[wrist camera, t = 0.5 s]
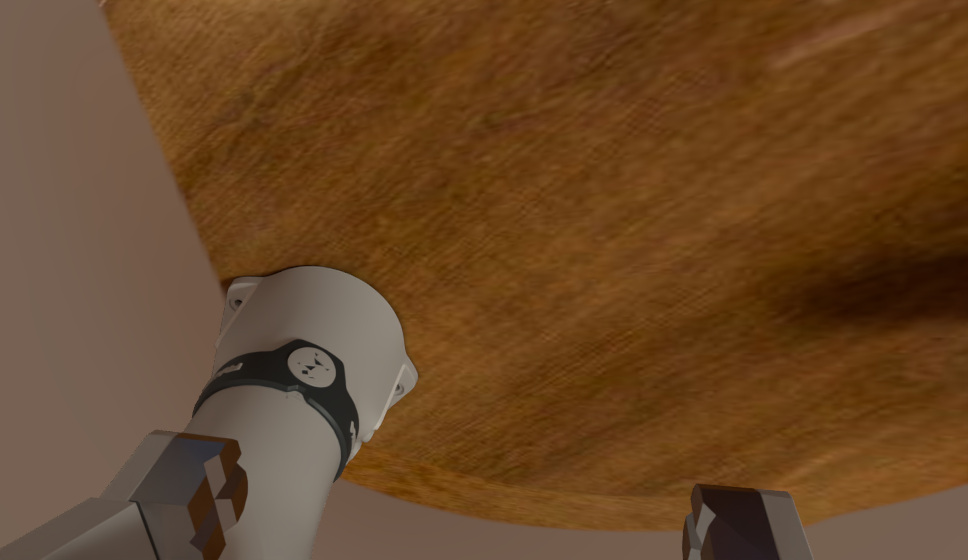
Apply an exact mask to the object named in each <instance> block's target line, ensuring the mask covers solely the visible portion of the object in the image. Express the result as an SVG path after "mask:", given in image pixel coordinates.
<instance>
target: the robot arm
mask: <svg viewBox="0 0 968 560" xmlns="http://www.w3.org/2000/svg"><path fill="white" fill-rule="evenodd" d="M238 300H241V301H242V303H241V302H239V301H238ZM214 346H215V348H216V349H217V351H216V355H215V360H214V366H213V372H212V378H211V379H210V381H209V382H208V383H207V384H206V386H205V388H204V389H203V390H202V393H201V395H200V396H199V399H198V401H197V403H196V405H195V407H194V410H193V415H192V420H191V421H190V423H189V424H188V425H187V427H186V428H185V430H184V431H183V432H182V433H179V432H170V431H162V430H155V431H153V432H151V433H149V434H148V435H147V436H146V437H145V438H144V440H143V441H142V442H141V444H140V445H139V446H138V447H137V449H136V450H135V452H134V453H133V454H132V455H131V457H130V458H129V459H128V460H127V462H126V463H125V465H124V466H123V467H122V468H121V470H120V471H119V472H118V474H117V475H116V476H115V478H114V479H113V480H112V481H111V483H110V484H109V485H108V487H107V488H106V489H105V491H104V492H103V493H102V494H101V496H100V497H99V498H89V499H87V500H86V501H84V502H82V503H80V504H78V505H77V506H75V507H73V508H71V509H70V510H68V511H66V512H64V513H63V514H61V515H59V516H57V517H56V518H54V519H52V520H50V521H48V522H47V523H45V524H43V525H42V526H40V527H38V528H36V529H34V530H33V531H31V532H29V533H27V534H26V535H24V536H22V537H20V538H19V539H17V540H15V541H13V542H12V543H10V544H8V545H6V546H4V547H3V548H1V549H0V560H311V559H312V551H313V546H314V541H315V537H316V534H317V530H318V526H319V522H320V519H321V516H322V512H323V509H324V506H325V503H326V500H327V497H328V494H329V492H330V489H331V486H332V483H334V482H335V481H336V480H337V479H338V478H339V477H340V475H341V474H342V472H343V470H344V468H345V465H347V463H348V461H350V460H351V459H352V458H353V457H354V456H355V455H356V453H357V452H358V450H359V448H360V446H361V444H362V441H363V442H368V441H369V440H370V438H371V437H372V435H373V433H374V430H377V429H378V428H379V426H380V425H381V423H382V421H383V418H384V416H385V413H386V411H387V410H388V409H389V408H390V407H391V406H393V405H394V404H395V403H396V402H397V401H398V400H400V399H401V398H402V397H403V396H404V395H406V394H407V393H408V392H409V391H410V390H412V389H413V387H414V386H415V384H416V382H417V380H418V374H417V371H416V369H415V367H414V365H413V364H412V362H411V361H410V359H409V358H408V356H407V355H406V351H405V347H404V338H403V332H402V328H401V325H400V323H399V320H398V318H397V316H396V314H395V313H394V311H393V309H392V308H391V306H390V305H389V304H388V303H387V301H386V300H385V299H384V298H383V297H382V296H381V295H380V294H379V293H378V292H377V291H376V290H374V289H373V288H372V287H371V286H369V285H368V284H366V283H365V282H363V281H361V280H360V279H358V278H356V277H354V276H352V275H350V274H347V273H345V272H342V271H339V270H335V269H331V268H326V267H318V266H304V267H296V268H291V269H287V270H284V271H282V272H279V273H277V274H274V275H271V276H268V277H239V278H236V279H234V280H233V282H232V283H231V285H230V287H229V289H228V292H227V297H226V303H225V308H224V313H223V319H222V324H221V329H220V335H219V337H218V338H217V340H216V342H215V345H214ZM397 385H399V386H397ZM690 499H691V505H692V511H693V512H692V513H690V514H689V515H687V516H686V519H685V523H684V528H683V540H682V553H683V560H814V558H813V555H812V552H811V550H810V547H809V544H808V541H807V538H806V535H805V532H804V530H803V527H802V524H801V521H800V518H799V515H798V512H797V510H796V507H795V504H794V501H793V498H792V496H791V495H790V494H789V493H788V492H785V491H774V490H763V489H756V490H755V489H754V488H742V487H731V486H719V485H708V484H696V485H695V486H694V488H693V491H692V495H691V498H690Z"/></svg>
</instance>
